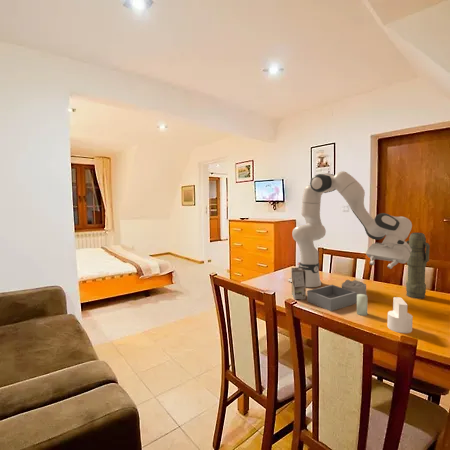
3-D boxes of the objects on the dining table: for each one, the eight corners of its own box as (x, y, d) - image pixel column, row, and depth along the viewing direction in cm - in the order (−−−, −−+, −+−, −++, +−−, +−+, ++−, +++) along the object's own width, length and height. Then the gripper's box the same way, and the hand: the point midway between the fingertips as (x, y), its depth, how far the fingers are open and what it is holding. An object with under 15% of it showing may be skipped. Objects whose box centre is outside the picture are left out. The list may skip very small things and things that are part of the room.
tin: (354, 313, 139) (354, 295, 138) (360, 311, 141) (361, 293, 140) (363, 316, 135) (363, 297, 134) (369, 314, 137) (369, 296, 136)
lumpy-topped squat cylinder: (368, 297, 159) (369, 282, 158) (351, 301, 154) (351, 286, 153) (353, 292, 169) (354, 277, 168) (336, 295, 164) (336, 281, 163)
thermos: (423, 300, 152) (426, 235, 148) (400, 294, 162) (401, 233, 158) (431, 297, 156) (434, 233, 153) (408, 291, 166) (410, 231, 163)
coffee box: (306, 299, 159) (305, 271, 158) (294, 299, 160) (294, 271, 158) (302, 294, 168) (302, 267, 167) (291, 294, 169) (290, 267, 167)
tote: (307, 301, 156) (307, 290, 156) (332, 294, 165) (332, 284, 165) (330, 311, 142) (330, 299, 142) (356, 303, 151) (356, 292, 151)
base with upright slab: (385, 322, 128) (385, 296, 127) (408, 324, 125) (408, 297, 124) (390, 331, 119) (390, 303, 118) (415, 334, 117) (416, 305, 116)
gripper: (370, 238, 155) (358, 259, 151) (410, 242, 137) (397, 265, 133) (376, 246, 157) (364, 266, 153) (415, 250, 139) (403, 273, 135)
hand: (380, 266), depth 143 cm, fingers open, 8 cm apart
